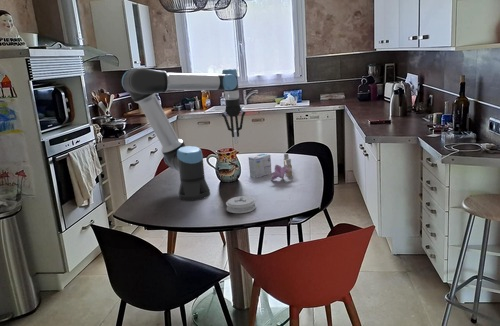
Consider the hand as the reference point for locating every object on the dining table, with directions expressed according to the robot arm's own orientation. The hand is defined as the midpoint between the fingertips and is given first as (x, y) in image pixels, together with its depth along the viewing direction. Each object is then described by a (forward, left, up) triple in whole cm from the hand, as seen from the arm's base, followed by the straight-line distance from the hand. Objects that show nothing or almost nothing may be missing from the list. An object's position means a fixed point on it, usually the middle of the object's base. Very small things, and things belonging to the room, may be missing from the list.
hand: (236, 142), depth 229 cm
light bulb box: (0, -12, -19) cm, 22 cm away
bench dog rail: (0, -27, -19) cm, 33 cm away
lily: (-16, -22, -19) cm, 33 cm away
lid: (-53, -2, -19) cm, 56 cm away
